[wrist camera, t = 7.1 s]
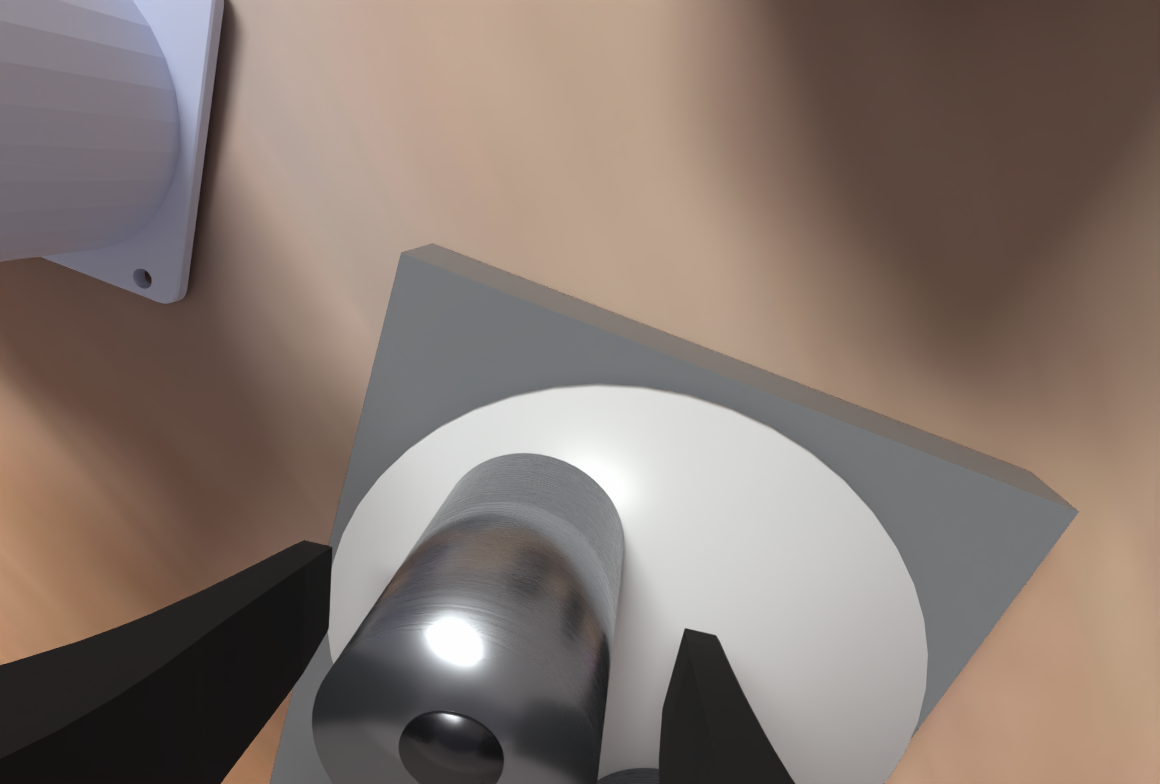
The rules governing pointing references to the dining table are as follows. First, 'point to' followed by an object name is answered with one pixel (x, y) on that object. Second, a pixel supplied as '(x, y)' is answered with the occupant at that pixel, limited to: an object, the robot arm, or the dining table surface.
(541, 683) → the cylinder
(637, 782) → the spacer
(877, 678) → the kitchen scale
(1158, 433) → the dining table surface
